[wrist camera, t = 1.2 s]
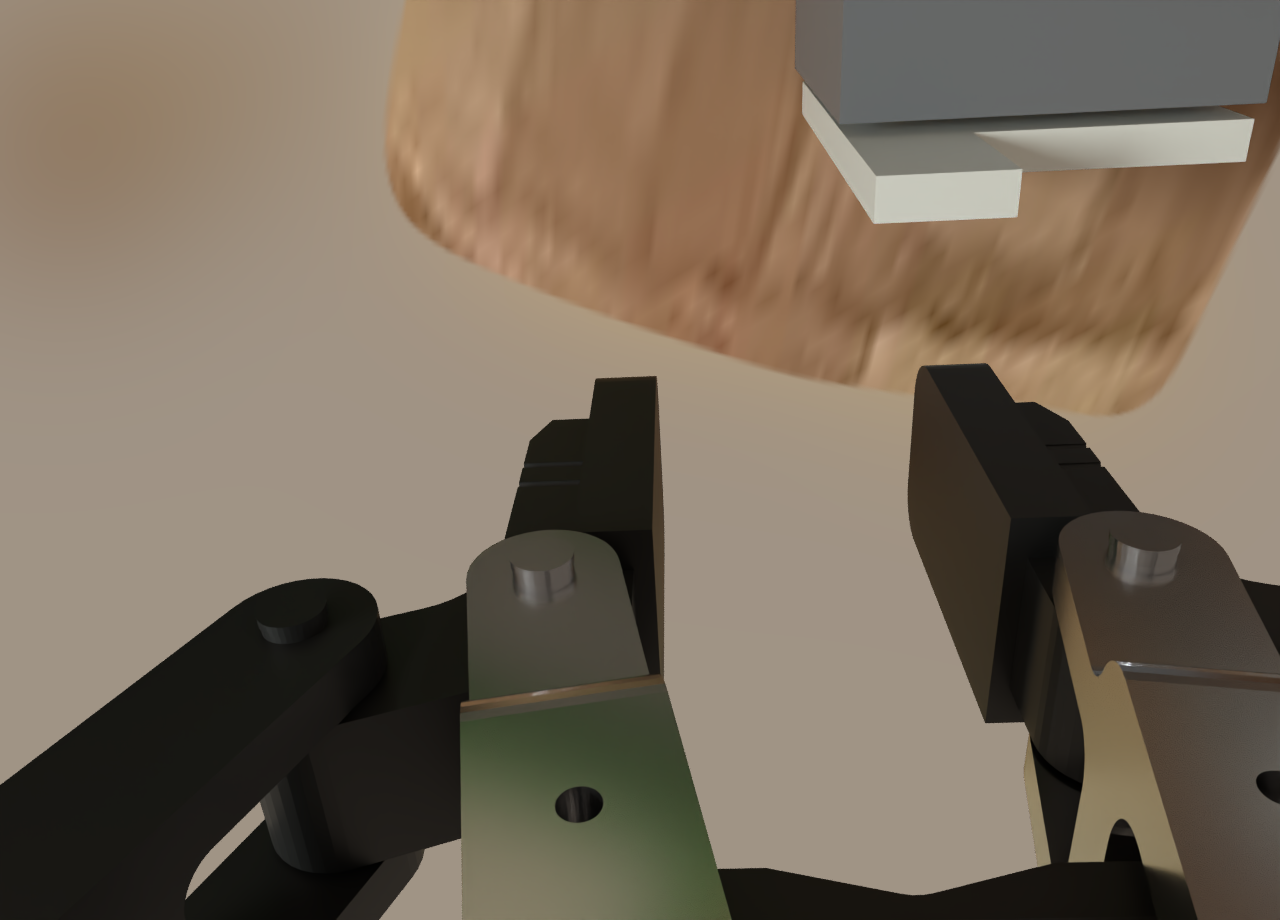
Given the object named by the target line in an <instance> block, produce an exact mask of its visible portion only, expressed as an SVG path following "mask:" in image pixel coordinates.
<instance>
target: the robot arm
mask: <svg viewBox="0 0 1280 920" xmlns="http://www.w3.org/2000/svg"><path fill="white" fill-rule="evenodd" d="M908 512H909V521H910V526H911V532H912V536H913V539H914V541H915V544H916V547H917V549H918V552H919V554H920V557H921V559H922V562H923V565H924V567H925V570H926V572H927V575H928V577H929V580H930V583H931V585H932V588H933V590H934V593H935V595H936V598H937V601H938V603H939V606H940V608H941V611H942V613H943V616H944V619H945V621H946V623H947V626H948V629H949V631H950V634H951V636H952V639H953V641H954V644H955V647H956V649H957V652H958V654H959V657H960V659H961V662H962V665H963V667H964V670H965V672H966V675H967V677H968V680H969V683H970V685H971V688H972V690H973V693H974V695H975V698H976V701H977V703H978V706H979V708H980V711H981V714H982V716H983V719H984V721H985V723H1008V722H1025V725H1026V727H1027V729H1028V731H1029V737H1028V744H1027V750H1026V757H1025V764H1024V781H1025V788H1026V794H1027V801H1028V807H1029V813H1030V820H1031V826H1032V833H1033V839H1034V846H1035V853H1036V859H1037V866H1038V867H1036V868H1032V869H1028V870H1024V871H1020V872H1016V873H1012V874H1008V875H1005V876H1000V877H996V878H992V879H989V880H984V881H981V882H977V883H973V884H969V885H965V886H961V887H957V888H953V889H949V890H945V891H941V892H937V893H933V894H927V895H905V894H899V893H894V892H889V891H883V890H878V889H873V888H867V887H862V886H857V885H852V884H847V883H841V882H836V881H831V880H826V879H821V878H815V877H810V876H805V875H800V874H795V873H789V872H784V871H778V870H774V869H768V868H745V869H717V866H716V862H715V859H714V855H713V851H712V848H711V844H710V841H709V837H708V834H707V830H706V826H705V823H704V820H703V816H702V812H701V809H700V805H699V802H698V798H697V795H696V791H695V787H694V784H693V780H692V777H691V773H690V769H689V766H688V763H687V759H686V755H685V752H684V748H683V745H682V741H681V737H680V734H679V730H678V727H677V723H676V720H675V716H674V713H673V709H672V706H671V702H670V698H669V695H668V691H667V688H666V685H665V682H664V507H663V485H662V465H661V445H660V426H659V404H658V388H657V377H656V376H649V377H648V376H647V377H622V378H598V379H596V380H595V385H594V392H593V399H592V405H591V412H590V418H589V419H569V420H552V421H551V422H550V423H549V424H548V425H547V426H546V427H545V428H543V429H542V430H541V431H540V432H539V433H538V434H537V435H536V436H534V437H533V438H532V439H531V440H530V442H529V446H528V450H527V454H526V458H525V462H524V468H523V469H522V473H521V477H520V481H519V487H518V489H517V493H516V497H515V500H514V504H513V508H512V512H511V516H510V520H509V524H508V527H507V531H506V535H505V539H504V540H502V541H500V542H498V543H496V544H494V545H492V546H491V547H489V548H488V549H486V550H485V551H483V552H482V553H481V554H480V555H479V556H478V557H477V558H476V559H475V560H474V561H473V563H472V564H471V565H470V568H469V570H468V572H467V579H466V584H467V585H466V586H467V592H466V593H465V594H462V595H461V596H458V597H456V598H454V599H452V600H449V601H447V602H444V603H441V604H439V605H435V606H431V607H427V608H424V609H420V610H415V611H410V612H406V613H402V614H397V615H393V616H389V617H384V618H380V616H379V611H378V607H377V603H376V600H375V598H374V597H373V595H372V594H371V593H370V592H369V591H368V590H366V589H365V588H363V587H361V586H360V585H358V584H355V583H352V582H349V581H345V580H339V579H327V578H319V579H306V580H299V581H294V582H289V583H285V584H281V585H278V586H275V587H272V588H269V589H267V590H264V591H262V592H260V593H257V594H255V595H253V596H251V597H250V598H248V599H246V600H244V601H242V602H241V603H240V604H238V605H237V606H235V607H234V608H232V609H231V610H230V611H228V612H227V613H226V614H224V615H223V616H222V617H221V618H219V619H218V620H217V621H215V622H214V623H213V624H211V625H210V626H209V627H207V628H206V629H205V630H203V631H202V632H201V633H199V634H198V635H197V636H195V637H194V638H193V639H192V640H190V641H189V642H188V643H186V644H185V645H184V646H182V647H181V648H180V649H179V650H177V651H176V652H174V653H173V654H172V655H171V656H169V657H168V658H167V659H165V660H164V661H163V662H161V663H160V664H159V665H158V666H156V667H155V668H153V669H152V670H151V671H149V672H148V673H147V674H146V675H144V676H143V677H142V678H140V679H139V680H138V681H136V682H135V683H134V684H132V685H131V686H130V687H128V688H127V689H126V690H125V691H123V692H122V693H121V694H119V695H118V696H117V697H116V698H114V699H113V700H111V701H110V702H109V703H107V704H106V705H105V706H104V707H102V708H101V709H100V710H98V711H97V712H96V713H94V714H93V715H92V716H90V717H89V718H88V719H86V720H85V721H84V722H82V723H81V724H80V725H79V726H77V727H76V728H75V729H73V730H72V731H71V732H70V733H68V734H67V735H65V736H64V737H63V738H61V739H60V740H59V741H58V742H56V743H55V744H54V745H52V746H51V747H50V748H49V749H47V750H46V751H44V752H43V753H42V754H40V755H39V756H38V757H37V758H35V759H34V760H32V761H31V762H30V763H29V764H27V765H26V766H25V767H23V768H22V769H21V770H20V771H18V772H17V773H15V774H14V775H13V776H12V777H10V778H9V779H8V780H6V781H5V782H4V783H2V784H1V785H0V920H379V919H380V918H381V916H382V915H383V914H384V913H385V911H386V910H387V909H388V907H389V906H390V905H391V904H392V902H393V901H394V900H395V899H396V897H397V896H398V895H399V893H400V892H401V891H402V890H403V888H404V887H405V886H406V885H407V883H408V882H409V881H410V879H411V878H412V877H413V875H414V874H415V872H416V871H417V869H418V867H419V865H420V863H421V861H422V858H423V854H424V850H425V849H426V848H429V847H433V846H436V845H440V844H443V843H447V842H450V841H454V840H457V839H461V845H462V846H461V847H462V848H461V851H462V920H1280V586H1278V585H1271V584H1264V583H1259V582H1253V581H1248V580H1244V579H1240V578H1239V576H1238V574H1237V572H1236V570H1235V568H1234V566H1233V564H1232V562H1231V560H1230V558H1229V556H1228V555H1227V553H1226V552H1225V550H1224V549H1223V548H1222V547H1221V546H1220V545H1219V544H1218V543H1217V542H1216V541H1215V540H1214V539H1212V538H1211V537H1209V536H1208V535H1206V534H1205V533H1203V532H1201V531H1200V530H1198V529H1196V528H1194V527H1191V526H1189V525H1187V524H1184V523H1182V522H1179V521H1176V520H1173V519H1170V518H1167V517H1162V516H1158V515H1154V514H1148V513H1142V512H1139V510H1138V509H1137V508H1136V507H1135V505H1134V504H1133V503H1132V501H1131V500H1130V499H1129V498H1128V496H1127V495H1126V494H1125V493H1124V491H1123V490H1122V489H1121V487H1120V486H1119V485H1118V484H1117V482H1116V481H1115V480H1114V478H1113V477H1112V476H1111V475H1110V473H1109V472H1108V471H1107V469H1106V468H1105V467H1101V462H1100V461H1099V459H1098V458H1097V457H1096V455H1095V454H1094V453H1093V452H1092V450H1091V449H1090V448H1086V443H1085V441H1084V440H1083V439H1082V437H1081V436H1080V435H1079V434H1078V432H1077V431H1076V430H1075V429H1074V427H1073V426H1072V425H1071V424H1070V422H1069V421H1068V420H1066V419H1064V418H1062V417H1061V416H1059V415H1057V414H1055V413H1054V412H1052V411H1050V410H1048V409H1046V408H1045V407H1043V406H1041V405H1039V404H1037V403H1036V402H1022V403H1015V402H1014V400H1013V399H1012V397H1011V396H1010V395H1009V393H1008V392H1007V390H1006V389H1005V387H1004V386H1003V385H1002V383H1001V382H1000V380H999V379H998V377H997V376H996V375H995V373H994V372H993V370H992V369H991V367H990V366H989V365H988V364H986V363H980V364H955V365H930V366H921V368H920V369H919V371H918V374H917V379H916V385H915V395H914V409H913V423H912V436H911V452H910V464H909V479H908ZM259 802H260V803H261V807H262V810H263V813H264V816H265V820H264V821H263V822H262V823H261V824H260V825H259V826H258V827H257V828H256V829H255V830H254V831H253V832H252V833H251V834H250V835H249V836H248V837H247V838H246V839H245V840H244V841H243V842H242V843H241V844H240V845H239V846H238V847H237V848H236V849H235V850H234V851H233V852H232V853H231V854H230V855H229V856H228V857H227V858H226V859H225V860H224V861H223V862H222V863H221V864H220V865H219V866H218V867H217V868H216V870H214V871H213V872H212V873H211V874H210V876H208V877H207V878H206V879H205V881H204V882H202V884H201V885H200V886H199V887H198V888H197V889H196V890H195V891H194V892H193V893H192V894H191V895H190V896H189V897H188V898H187V899H186V900H185V898H186V893H187V890H188V887H189V884H190V882H191V879H192V877H193V875H194V873H195V871H196V869H197V868H198V866H199V864H200V863H201V861H202V860H203V859H204V857H205V856H206V855H207V854H208V853H209V851H210V850H211V849H212V848H213V847H214V846H215V845H216V844H217V843H218V842H219V841H220V840H221V839H222V838H223V837H224V836H225V835H226V834H227V833H228V832H229V831H230V830H231V829H232V828H233V827H234V826H235V825H236V824H237V823H238V822H239V821H240V820H241V819H243V818H244V816H246V814H248V812H249V811H251V809H252V808H254V807H255V806H256V805H257V804H258V803H259Z"/></svg>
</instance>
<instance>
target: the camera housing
mask: <svg viewBox="0 0 1280 920" xmlns="http://www.w3.org/2000/svg"><path fill="white" fill-rule="evenodd" d="M1279 41H1280V0H796V35H795V69H796V70H797V71H798V73H799V74H800V75H801V76H802V78H803V79H804V80H805V81H806V83H807V84H808V85H809V87H810V88H811V89H812V90H813V92H814V93H815V94H816V95H817V97H818V98H819V99H820V100H821V102H822V103H823V104H824V105H825V107H826V108H827V109H828V111H829V112H830V113H831V114H832V116H833V117H834V118H835V119H836V121H837V122H838V123H839V124H857V123H877V122H897V121H917V120H937V119H957V118H977V117H997V116H1017V115H1037V114H1057V113H1077V112H1097V111H1117V110H1137V109H1157V108H1177V107H1197V106H1217V105H1237V104H1257V103H1266V102H1267V98H1268V93H1269V88H1270V83H1271V79H1272V74H1273V69H1274V65H1275V60H1276V55H1277V50H1278V46H1279Z"/></svg>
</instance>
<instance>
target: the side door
mask: <svg viewBox="0 0 1280 920" xmlns="http://www.w3.org/2000/svg"><path fill="white" fill-rule="evenodd" d="M802 114H803V116H804V117H805V119H806V120H807V122H808V123H809V125H810V127H811V128H812V130H813V131H814V133H815V134H816V136H817V137H818V139H819V140H820V142H821V143H822V145H823V146H824V148H825V150H826V151H827V153H828V154H829V156H830V157H831V159H832V160H833V162H834V163H835V165H836V166H837V168H838V169H839V171H840V173H841V174H842V176H843V177H844V179H845V180H846V182H847V183H848V185H849V186H850V188H851V189H852V191H853V192H854V194H855V196H856V197H857V199H858V200H859V202H860V203H861V205H862V206H863V208H864V209H865V211H866V212H867V214H868V215H869V217H870V219H871V220H872V222H873V223H874V224H879V223H901V222H922V221H944V220H966V219H988V218H1010V217H1017V214H1018V205H1019V196H1020V187H1021V178H1022V172H1038V171H1059V170H1080V169H1100V168H1121V167H1142V166H1163V165H1184V164H1205V163H1226V162H1246V157H1247V153H1248V148H1249V143H1250V138H1251V133H1252V128H1253V124H1254V118H1251V117H1248V116H1245V115H1243V114H1240V113H1237V112H1234V111H1231V110H1229V109H1226V108H1223V107H1220V106H1218V105H1217V106H1197V107H1177V108H1157V109H1137V110H1117V111H1097V112H1077V113H1057V114H1037V115H1017V116H997V117H977V118H957V119H937V120H917V121H897V122H877V123H857V124H839V123H838V122H837V121H836V119H835V118H834V117H833V116H832V114H831V113H830V112H829V111H828V109H827V108H826V107H825V105H824V104H823V103H822V102H821V100H820V99H819V98H818V97H817V95H816V94H815V93H814V92H813V90H812V89H811V88H810V87H809V85H808V84H807V83H806V81H804V82H803V100H802Z"/></svg>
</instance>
